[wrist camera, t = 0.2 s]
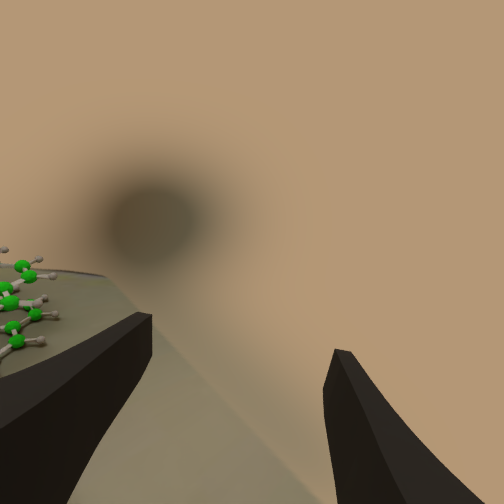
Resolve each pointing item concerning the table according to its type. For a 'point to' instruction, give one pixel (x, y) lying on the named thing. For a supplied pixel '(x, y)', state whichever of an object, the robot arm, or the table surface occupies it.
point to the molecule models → (5, 301)
